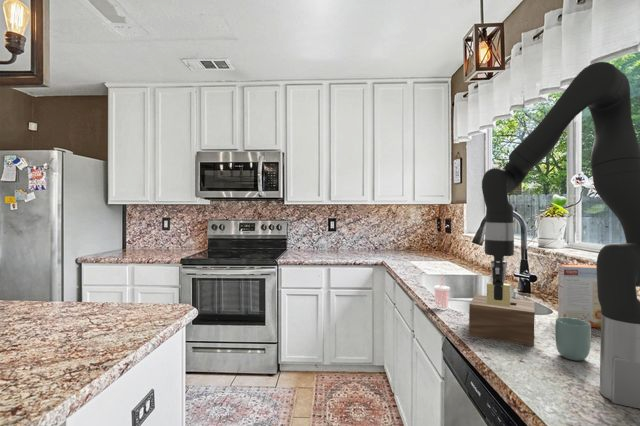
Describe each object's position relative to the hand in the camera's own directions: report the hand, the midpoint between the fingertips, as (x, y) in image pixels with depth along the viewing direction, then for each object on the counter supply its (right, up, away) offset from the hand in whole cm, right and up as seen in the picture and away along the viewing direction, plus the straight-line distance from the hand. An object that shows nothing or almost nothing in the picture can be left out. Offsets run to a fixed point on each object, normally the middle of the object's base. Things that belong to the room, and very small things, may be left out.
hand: (498, 298), depth 105 cm
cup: (+18, -15, -5) cm, 24 cm away
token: (0, -2, 0) cm, 2 cm away
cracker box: (+41, -15, +24) cm, 50 cm away
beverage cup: (-2, -14, +43) cm, 45 cm away
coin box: (+8, -15, +14) cm, 22 cm away
